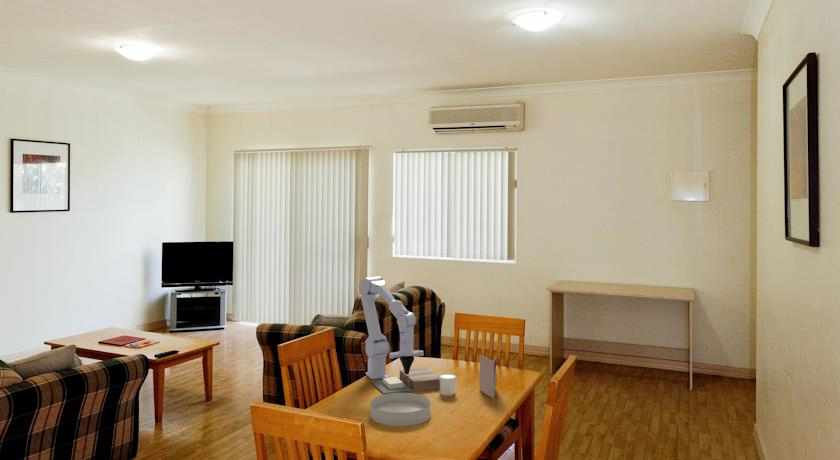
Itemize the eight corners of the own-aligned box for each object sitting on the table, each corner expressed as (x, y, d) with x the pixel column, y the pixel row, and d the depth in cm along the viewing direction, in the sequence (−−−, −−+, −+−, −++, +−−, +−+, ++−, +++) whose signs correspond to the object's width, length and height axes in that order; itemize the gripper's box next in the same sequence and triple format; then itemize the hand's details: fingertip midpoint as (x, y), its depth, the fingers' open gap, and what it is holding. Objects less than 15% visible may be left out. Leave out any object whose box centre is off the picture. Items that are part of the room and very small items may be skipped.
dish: (397, 401, 237) (397, 388, 237) (443, 414, 223) (443, 400, 223) (357, 417, 220) (357, 403, 220) (403, 432, 206) (403, 417, 206)
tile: (396, 376, 260) (396, 381, 260) (382, 378, 258) (382, 382, 258) (403, 382, 252) (403, 387, 252) (389, 384, 250) (389, 389, 250)
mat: (371, 382, 261) (371, 380, 261) (398, 379, 266) (398, 377, 266) (383, 394, 244) (383, 393, 244) (412, 391, 249) (412, 389, 249)
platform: (399, 379, 266) (399, 369, 266) (425, 376, 270) (425, 367, 270) (413, 391, 249) (413, 381, 249) (441, 388, 253) (441, 378, 253)
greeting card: (495, 398, 240) (496, 361, 239) (476, 397, 242) (477, 360, 241) (497, 389, 251) (498, 354, 251) (479, 388, 253) (480, 353, 252)
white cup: (456, 390, 250) (456, 374, 249) (455, 396, 243) (455, 378, 243) (439, 390, 250) (439, 373, 250) (438, 395, 244) (438, 378, 243)
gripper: (393, 345, 250) (393, 377, 251) (426, 342, 255) (426, 374, 256) (388, 341, 257) (388, 373, 258) (420, 338, 262) (420, 370, 263)
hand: (406, 373), depth 257 cm, fingers closed
